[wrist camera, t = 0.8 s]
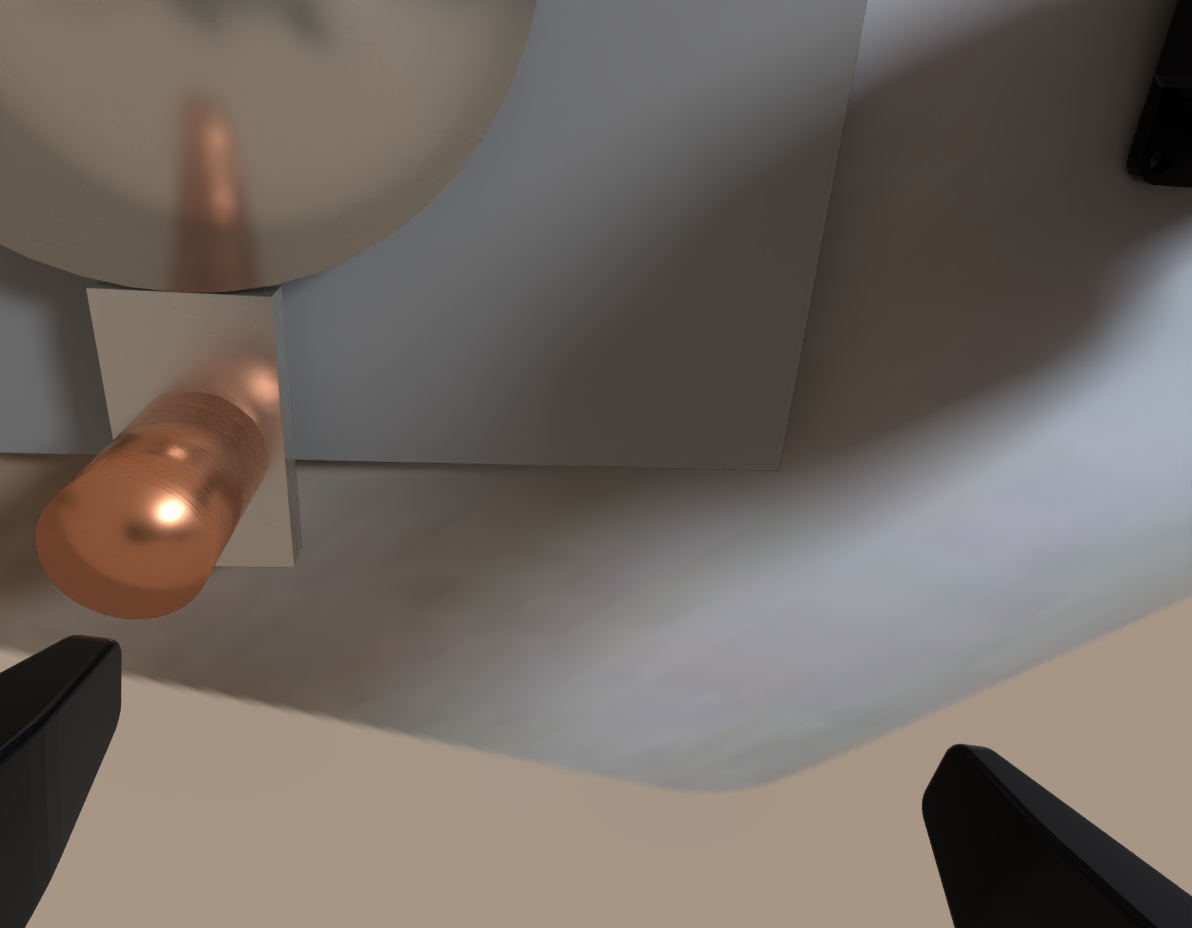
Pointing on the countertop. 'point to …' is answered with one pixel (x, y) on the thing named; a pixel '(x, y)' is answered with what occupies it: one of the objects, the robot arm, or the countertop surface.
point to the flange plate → (218, 237)
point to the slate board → (551, 263)
